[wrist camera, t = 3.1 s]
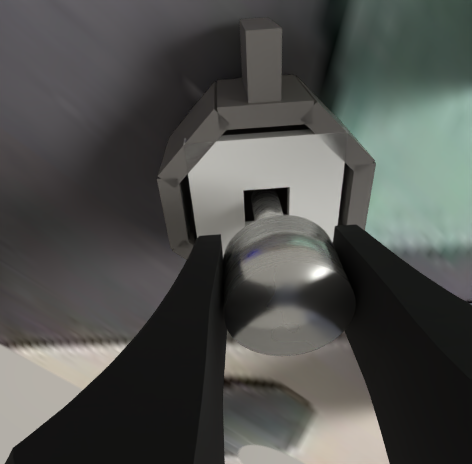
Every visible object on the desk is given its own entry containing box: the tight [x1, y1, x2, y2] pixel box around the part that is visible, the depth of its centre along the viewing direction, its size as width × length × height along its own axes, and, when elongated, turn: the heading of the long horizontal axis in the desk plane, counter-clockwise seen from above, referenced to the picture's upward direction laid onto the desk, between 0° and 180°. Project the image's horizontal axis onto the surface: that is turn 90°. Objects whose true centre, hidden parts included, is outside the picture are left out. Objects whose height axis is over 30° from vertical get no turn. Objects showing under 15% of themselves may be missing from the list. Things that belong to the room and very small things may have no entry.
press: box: [157, 17, 376, 260], centre depth 14 cm, size 9×7×4 cm
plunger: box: [223, 188, 356, 356], centre depth 11 cm, size 3×3×6 cm
